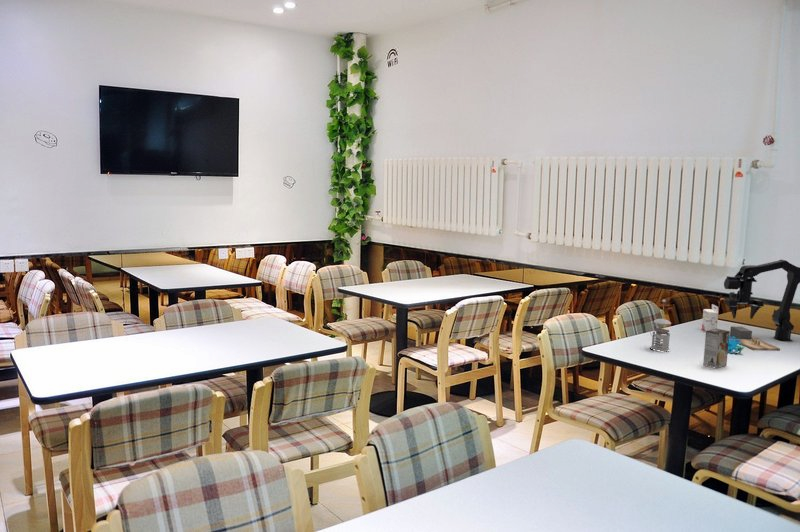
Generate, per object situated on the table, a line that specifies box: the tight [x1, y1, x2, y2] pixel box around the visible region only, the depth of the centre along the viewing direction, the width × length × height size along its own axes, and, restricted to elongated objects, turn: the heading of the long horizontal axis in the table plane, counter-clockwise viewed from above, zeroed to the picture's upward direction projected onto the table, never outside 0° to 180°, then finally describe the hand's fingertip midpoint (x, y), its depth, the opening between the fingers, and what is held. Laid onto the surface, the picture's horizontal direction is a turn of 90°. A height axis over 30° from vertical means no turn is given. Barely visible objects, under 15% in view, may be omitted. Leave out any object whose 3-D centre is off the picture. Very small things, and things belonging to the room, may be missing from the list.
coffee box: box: [702, 328, 730, 369], centre depth 294 cm, size 9×6×16 cm
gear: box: [728, 335, 745, 355], centre depth 320 cm, size 11×6×10 cm
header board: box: [733, 337, 781, 352], centre depth 334 cm, size 14×18×4 cm
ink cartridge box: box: [701, 303, 719, 332], centre depth 362 cm, size 9×5×15 cm, turn 179°
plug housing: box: [729, 325, 753, 339], centre depth 349 cm, size 6×10×5 cm, turn 2°
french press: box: [649, 299, 672, 351], centre depth 320 cm, size 10×12×25 cm
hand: (742, 318), depth 348 cm, fingers open, 9 cm apart
